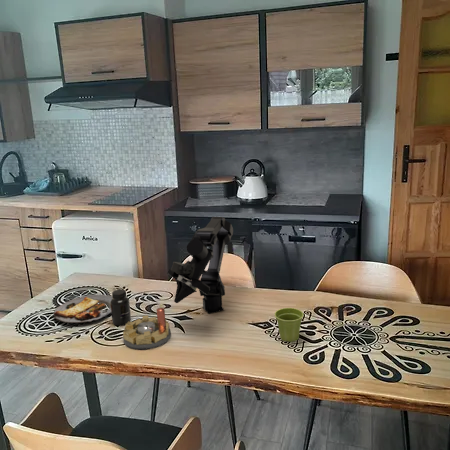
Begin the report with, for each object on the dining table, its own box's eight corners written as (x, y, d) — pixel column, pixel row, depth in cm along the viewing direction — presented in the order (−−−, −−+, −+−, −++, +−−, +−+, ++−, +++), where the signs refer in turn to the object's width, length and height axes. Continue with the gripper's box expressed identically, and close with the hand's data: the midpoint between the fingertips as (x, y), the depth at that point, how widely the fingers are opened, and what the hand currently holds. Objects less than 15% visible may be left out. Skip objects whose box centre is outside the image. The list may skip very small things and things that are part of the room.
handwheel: (128, 324, 162) (125, 299, 160) (170, 321, 163) (168, 297, 160) (120, 345, 148) (117, 319, 145) (166, 342, 148) (164, 316, 146)
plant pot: (285, 348, 145) (285, 323, 142) (269, 335, 153) (269, 312, 151) (309, 340, 149) (309, 315, 147) (292, 328, 157) (292, 305, 155)
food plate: (84, 332, 161) (83, 323, 161) (40, 320, 173) (39, 311, 172) (131, 305, 182) (130, 297, 182) (89, 296, 194) (88, 289, 193)
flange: (154, 321, 167) (153, 310, 165) (180, 336, 155) (179, 324, 154) (115, 338, 156) (113, 325, 155) (139, 355, 145) (138, 342, 144)
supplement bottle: (126, 326, 164) (123, 296, 161) (109, 325, 165) (105, 295, 162) (134, 318, 170) (130, 288, 167) (117, 317, 172) (113, 287, 169)
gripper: (168, 246, 161) (145, 284, 157) (200, 258, 147) (174, 301, 143) (189, 261, 168) (166, 298, 164) (220, 274, 154) (197, 314, 150)
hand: (175, 302), depth 155 cm, fingers closed
